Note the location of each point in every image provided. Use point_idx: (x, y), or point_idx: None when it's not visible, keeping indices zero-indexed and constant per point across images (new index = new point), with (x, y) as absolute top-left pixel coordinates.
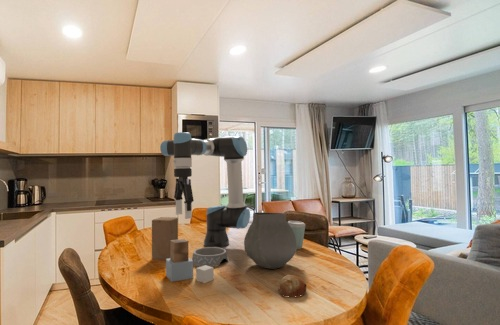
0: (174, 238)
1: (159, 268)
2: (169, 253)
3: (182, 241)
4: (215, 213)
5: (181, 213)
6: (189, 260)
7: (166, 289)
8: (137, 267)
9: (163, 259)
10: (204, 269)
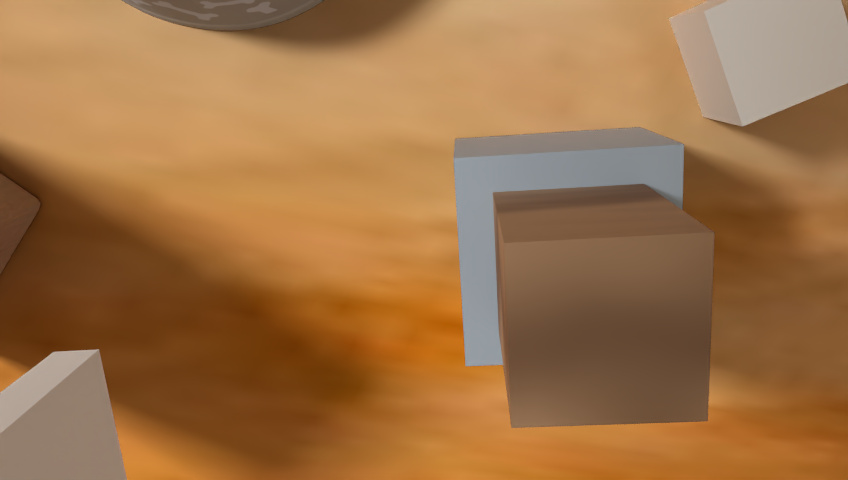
0: None
1: (257, 323)
2: (1, 217)
3: (674, 306)
4: None
5: (90, 377)
6: (644, 172)
7: (772, 361)
8: (161, 467)
9: (12, 252)
10: (835, 64)
